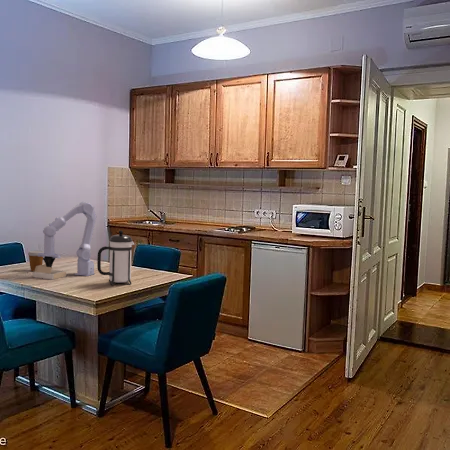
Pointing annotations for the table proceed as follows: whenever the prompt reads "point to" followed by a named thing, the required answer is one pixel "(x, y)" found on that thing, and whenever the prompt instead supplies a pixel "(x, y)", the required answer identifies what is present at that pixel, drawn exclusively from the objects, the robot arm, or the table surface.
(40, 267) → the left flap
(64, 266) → the table surface
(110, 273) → the coffee press
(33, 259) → the disposable coffee cup
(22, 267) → the table surface
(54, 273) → the carton
